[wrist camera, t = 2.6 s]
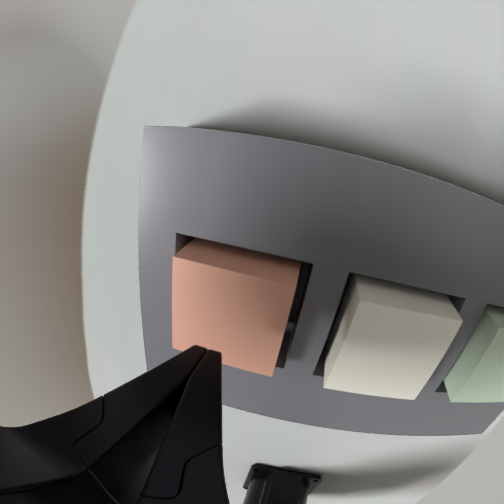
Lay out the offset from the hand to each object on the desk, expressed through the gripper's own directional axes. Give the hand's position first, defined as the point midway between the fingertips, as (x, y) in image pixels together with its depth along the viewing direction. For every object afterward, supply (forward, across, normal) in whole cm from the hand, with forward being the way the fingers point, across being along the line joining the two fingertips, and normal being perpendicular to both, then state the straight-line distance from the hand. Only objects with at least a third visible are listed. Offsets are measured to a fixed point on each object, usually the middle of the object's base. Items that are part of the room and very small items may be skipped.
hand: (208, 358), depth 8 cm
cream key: (+4, -6, 0) cm, 7 cm away
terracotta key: (+4, 0, 0) cm, 4 cm away
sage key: (+4, -12, 0) cm, 13 cm away
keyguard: (+6, -6, 0) cm, 9 cm away
